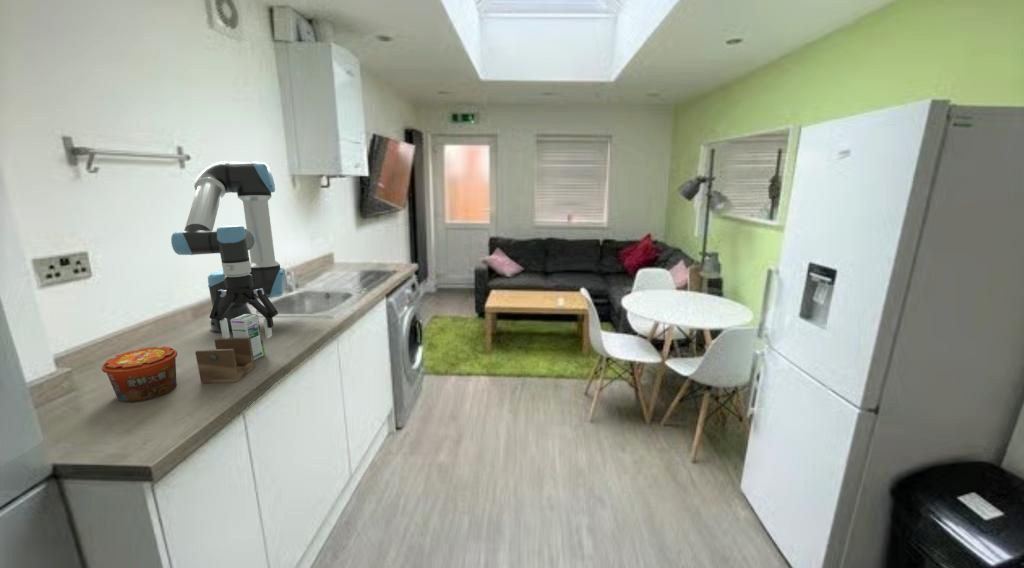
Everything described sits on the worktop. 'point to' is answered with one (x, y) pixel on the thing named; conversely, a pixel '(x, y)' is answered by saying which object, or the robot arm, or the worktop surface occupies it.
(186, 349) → the worktop surface
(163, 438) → the worktop surface
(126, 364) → the food container
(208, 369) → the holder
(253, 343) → the syrup box
